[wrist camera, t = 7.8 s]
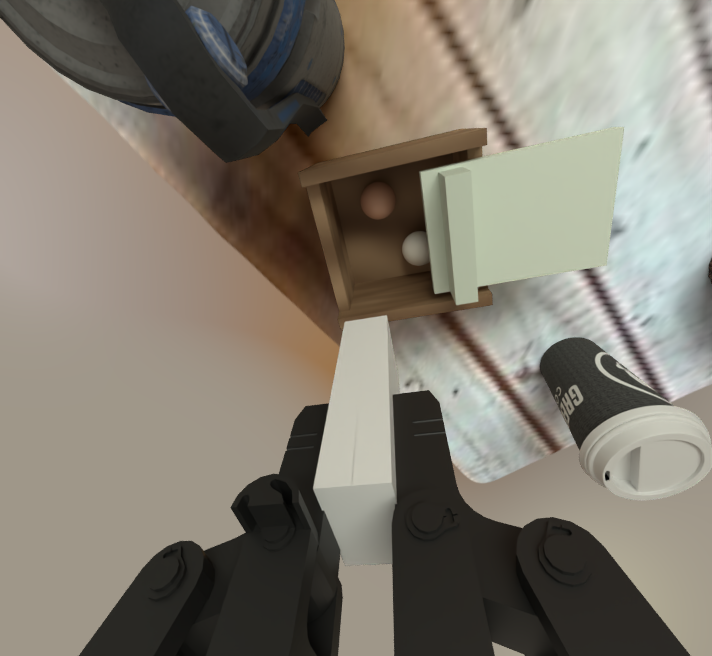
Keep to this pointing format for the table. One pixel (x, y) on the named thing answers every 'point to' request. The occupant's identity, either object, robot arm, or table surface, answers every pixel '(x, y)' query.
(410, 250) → the ball cream
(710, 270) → the cupcake
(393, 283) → the box
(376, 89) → the table surface
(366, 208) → the ball terracotta
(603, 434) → the coffee cup
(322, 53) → the beverage bottle
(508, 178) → the lid
